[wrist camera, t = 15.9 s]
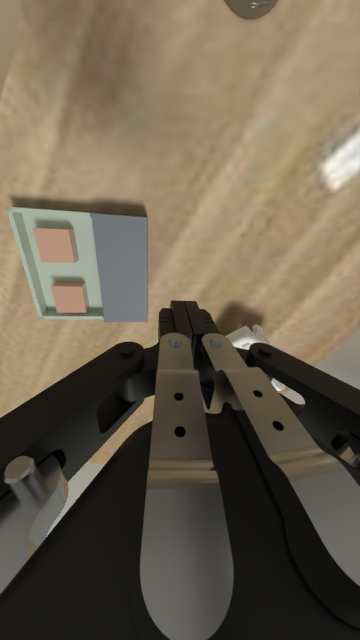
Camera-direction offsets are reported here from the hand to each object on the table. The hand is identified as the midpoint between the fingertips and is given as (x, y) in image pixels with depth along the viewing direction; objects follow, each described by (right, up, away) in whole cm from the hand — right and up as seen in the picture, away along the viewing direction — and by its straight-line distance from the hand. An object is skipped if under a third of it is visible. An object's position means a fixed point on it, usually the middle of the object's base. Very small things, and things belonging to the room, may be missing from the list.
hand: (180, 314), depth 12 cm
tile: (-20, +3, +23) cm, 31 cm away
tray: (-20, +9, +24) cm, 32 cm away
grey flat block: (-10, +9, +25) cm, 29 cm away
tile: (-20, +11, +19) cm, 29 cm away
